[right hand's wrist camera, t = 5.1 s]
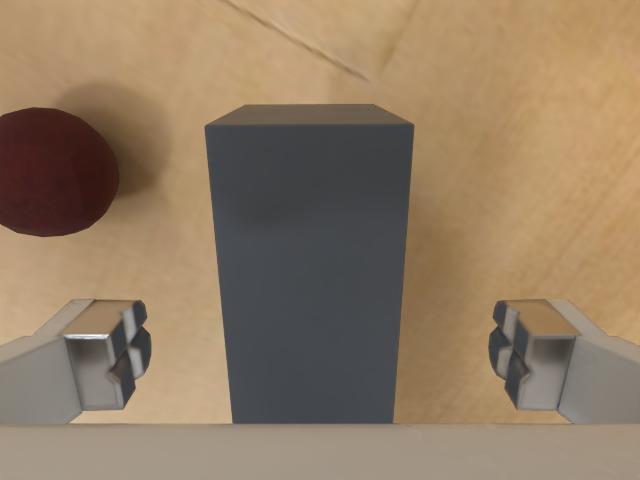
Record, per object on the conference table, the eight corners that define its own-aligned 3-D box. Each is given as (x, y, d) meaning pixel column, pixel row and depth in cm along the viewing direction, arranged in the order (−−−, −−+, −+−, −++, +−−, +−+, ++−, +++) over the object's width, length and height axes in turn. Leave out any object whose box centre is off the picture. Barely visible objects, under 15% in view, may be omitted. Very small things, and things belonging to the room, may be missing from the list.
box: (244, 104, 21) (203, 125, 13) (374, 104, 21) (415, 123, 13) (268, 495, 30) (253, 649, 22) (359, 492, 30) (377, 645, 22)
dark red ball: (144, 213, 30) (98, 252, 24) (31, 216, 30) (-46, 256, 24) (124, 102, 28) (66, 112, 21) (1, 105, 28) (-96, 116, 21)
